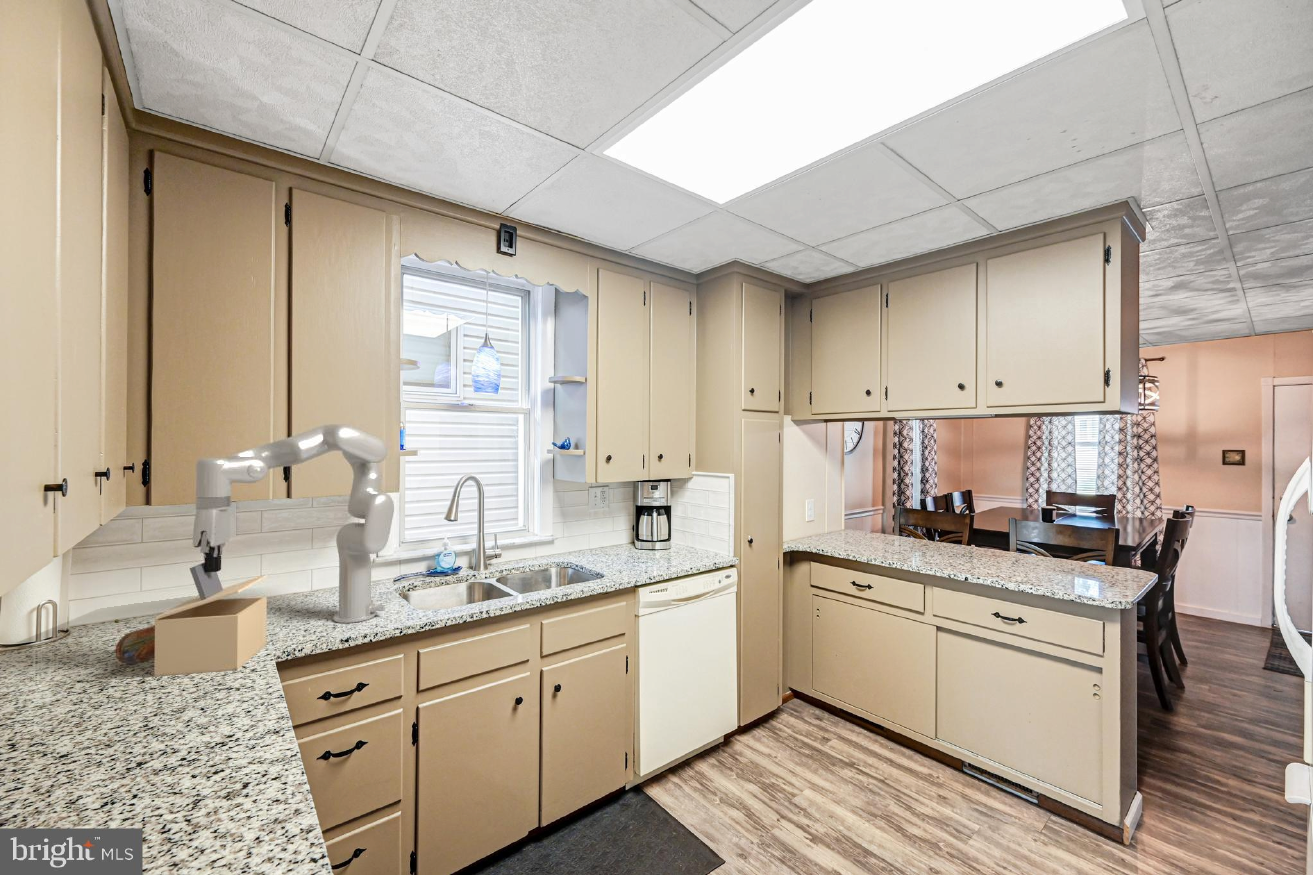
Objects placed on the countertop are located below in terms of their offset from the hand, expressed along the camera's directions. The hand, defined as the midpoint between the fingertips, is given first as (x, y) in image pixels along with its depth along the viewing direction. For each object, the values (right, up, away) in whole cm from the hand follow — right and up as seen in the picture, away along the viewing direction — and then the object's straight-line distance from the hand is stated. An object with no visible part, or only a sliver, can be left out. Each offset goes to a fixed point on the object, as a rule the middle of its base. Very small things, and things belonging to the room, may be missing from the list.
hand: (212, 571), depth 153 cm
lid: (+1, -7, 0) cm, 7 cm away
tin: (-19, -24, +1) cm, 30 cm away
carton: (0, -24, 0) cm, 24 cm away
